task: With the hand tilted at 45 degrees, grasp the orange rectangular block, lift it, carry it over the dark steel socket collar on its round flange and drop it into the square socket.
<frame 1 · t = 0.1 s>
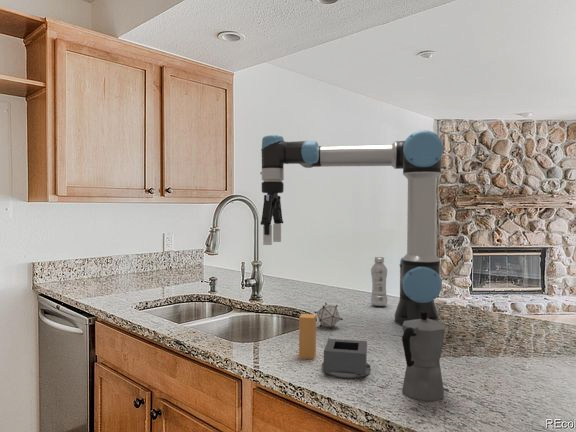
hand: (272, 243, 152), 28 cm above the worktop, tool pointing down, fingers open, 13 cm apart
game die: (328, 328, 149), on the worktop
orange rectangular block: (307, 356, 121), on the worktop
plastic bottle: (378, 306, 182), on the worktop
tin: (425, 351, 126), on the worktop
coffeepot: (420, 395, 97), on the worktop
socket collar: (346, 369, 111), on the worktop
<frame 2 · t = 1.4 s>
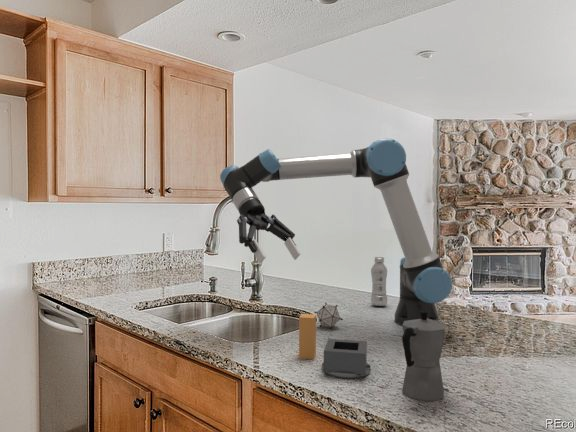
hand: (280, 258, 128), 26 cm above the worktop, tool tilted 45°, fingers open, 13 cm apart
nothing on the worktop moved.
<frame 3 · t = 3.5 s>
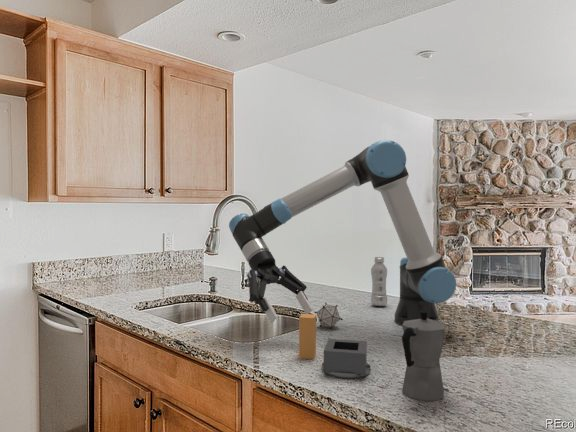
hand: (292, 315, 124), 10 cm above the worktop, tool tilted 45°, fingers open, 13 cm apart
nothing on the worktop moved.
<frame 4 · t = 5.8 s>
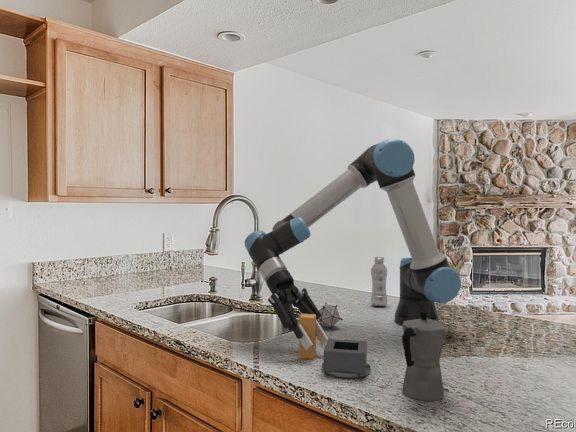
hand: (317, 344, 118), 4 cm above the worktop, tool tilted 45°, fingers closed on orange rectangular block, 6 cm apart
orange rectangular block: (307, 355, 121), on the worktop, touching gripper
everything else where it was.
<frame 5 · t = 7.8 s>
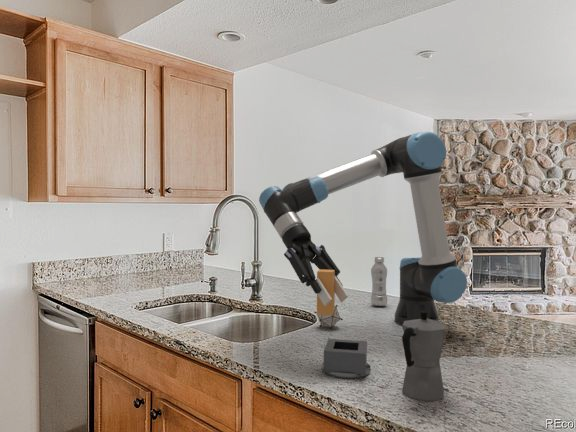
hand: (336, 300, 112), 17 cm above the worktop, tool tilted 45°, fingers closed on orange rectangular block, 6 cm apart
orange rectangular block: (325, 313, 115), point 13 cm above the worktop, touching gripper
everything else where it was.
when the fingers open (8 cm above the worktop, at t = 10.2 s): orange rectangular block drops 3 cm, resting on socket collar.
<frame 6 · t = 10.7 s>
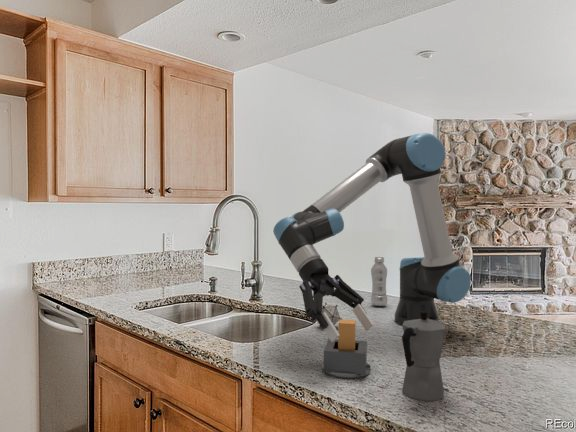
hand: (353, 333, 109), 10 cm above the worktop, tool tilted 45°, fingers open, 13 cm apart
orange rectangular block: (346, 365, 111), point 1 cm above the worktop, touching socket collar
everything else where it was.
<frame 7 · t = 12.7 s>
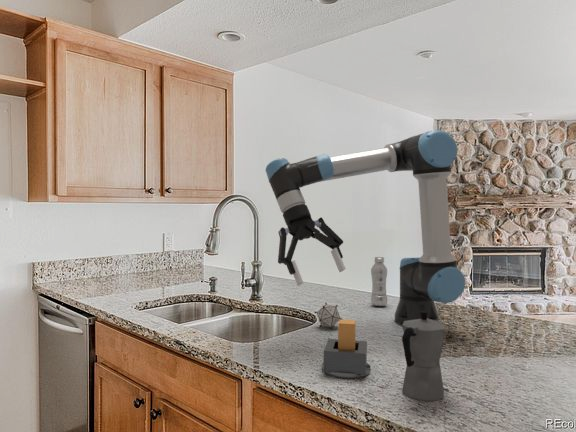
hand: (322, 277, 122), 21 cm above the worktop, tool tilted 30°, fingers open, 13 cm apart
nothing on the worktop moved.
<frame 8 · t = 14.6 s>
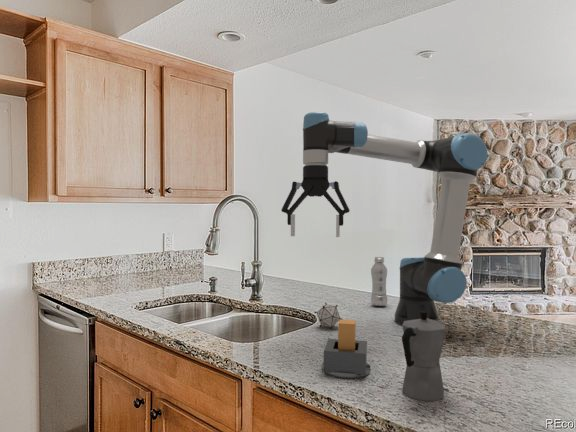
hand: (315, 236, 133), 32 cm above the worktop, tool pointing down, fingers open, 13 cm apart
nothing on the worktop moved.
at the end: orange rectangular block 0.3 cm off-centre on the socket collar, point 1.0 cm above the socket collar's base; orange rectangular block tilted 0°; the gripper is holding nothing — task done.
